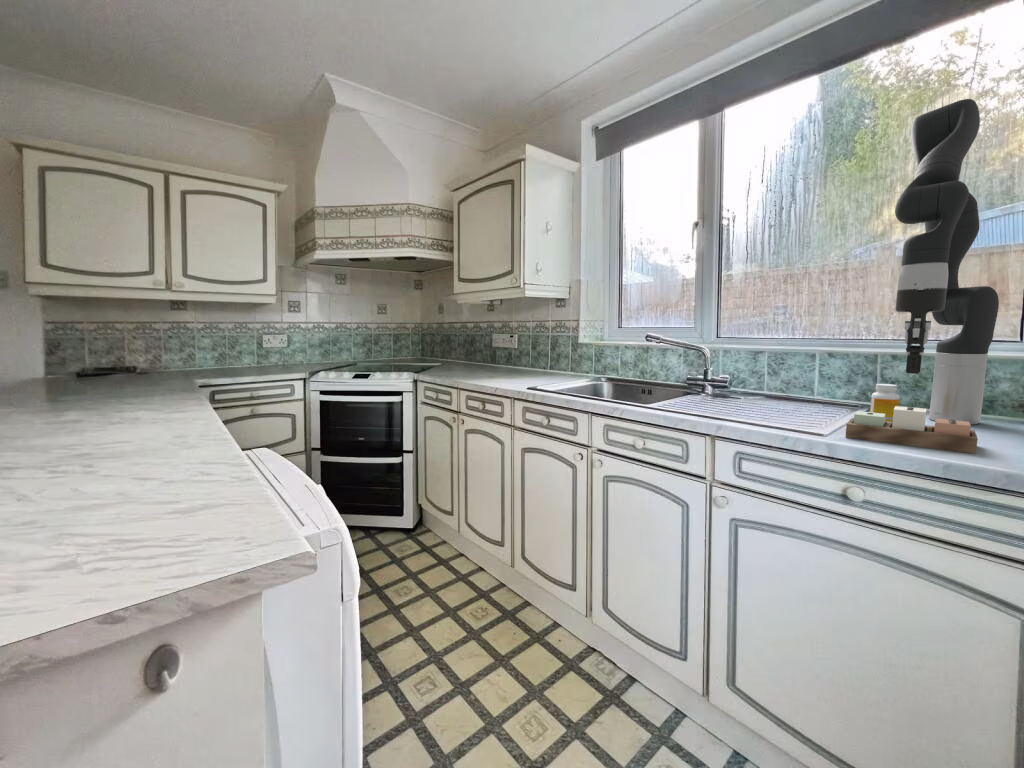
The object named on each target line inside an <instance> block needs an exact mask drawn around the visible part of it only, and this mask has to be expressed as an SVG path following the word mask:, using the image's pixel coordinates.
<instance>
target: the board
mask: <svg viewBox="0 0 1024 768" xmlns="http://www.w3.org/2000/svg"><path fill="white" fill-rule="evenodd" d="M853 423H854V417H851V418H850V419H849V421H848V422H847V423H846V426H845V427H846V428H845V438H847V439H854V438H855V440H862V439H863V441H869V442H870V441H871V442H879V443H886V444H893V443H894V444H895V445H901V444H902V445H903V446H910V447H917V448H925V449H932V450H933V449H934V450H942V451H949V452H958V453H964V454H971V455H972V454H973V455H976V454H977V447H978V439H979V437H978V435H977V433H976V430H974V429H973V430H972V429H970V436H962V435H953V434H944V433H935V432H934V425H926V424H925V428H924V431H917V430H908V429H899V428H892V423H893V422H889V421H885V424H884V427H881V426H872V425H863V424H853Z"/></svg>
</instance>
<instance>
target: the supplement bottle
mask: <svg viewBox="0 0 1024 768" xmlns="http://www.w3.org/2000/svg"><path fill="white" fill-rule="evenodd" d="M897 387H898V385H897V384H890V383H876V384H875V390H876V391H875V392H872V394H871V396H870V397H871V399H870V409H869V412H872V413H882V414H885V421H889V422H893V413H894V408H895V406H898V407H900V395H899V394H897V391H898V388H897Z"/></svg>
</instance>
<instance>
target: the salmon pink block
mask: <svg viewBox="0 0 1024 768" xmlns="http://www.w3.org/2000/svg"><path fill="white" fill-rule="evenodd" d="M933 426H934V432H935V433H944V434H953V435H962V436H970V430H971V426H972V424H970V422H966V421H956V420H945V419H935V420H934V425H933Z"/></svg>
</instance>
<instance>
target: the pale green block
mask: <svg viewBox="0 0 1024 768" xmlns="http://www.w3.org/2000/svg"><path fill="white" fill-rule="evenodd" d="M853 418H854V423H853V424H863V425H872V426H881V427H884V424H885V414H882V413H872V412H870V411H860V410H859V411H858V410H856V412H855V413H854V415H853Z"/></svg>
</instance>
